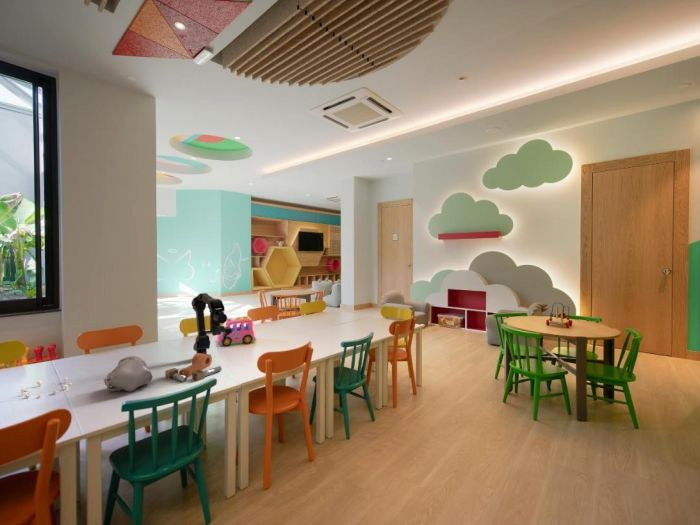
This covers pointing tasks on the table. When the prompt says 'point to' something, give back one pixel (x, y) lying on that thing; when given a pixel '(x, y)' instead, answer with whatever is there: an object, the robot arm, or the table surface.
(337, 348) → the table surface
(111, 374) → the grey rock
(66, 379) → the game piece set
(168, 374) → the hex bolt
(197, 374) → the shaft
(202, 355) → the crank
